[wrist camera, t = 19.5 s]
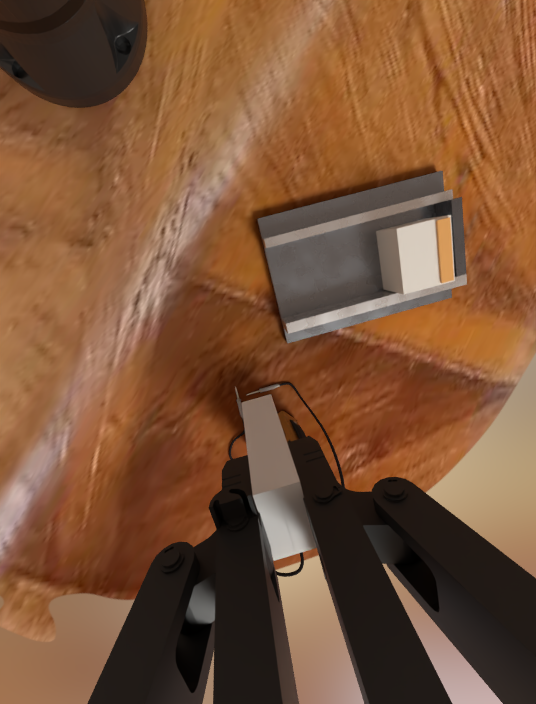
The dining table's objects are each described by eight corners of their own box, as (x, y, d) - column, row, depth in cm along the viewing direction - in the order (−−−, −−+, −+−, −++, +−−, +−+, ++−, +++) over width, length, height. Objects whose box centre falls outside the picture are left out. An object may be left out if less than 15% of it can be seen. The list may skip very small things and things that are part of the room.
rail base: (256, 219, 39) (260, 216, 35) (437, 172, 40) (459, 164, 36) (286, 341, 44) (292, 350, 40) (446, 296, 45) (467, 300, 41)
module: (375, 231, 40) (397, 228, 35) (424, 218, 40) (452, 214, 35) (383, 289, 42) (405, 294, 37) (428, 277, 42) (456, 281, 37)
